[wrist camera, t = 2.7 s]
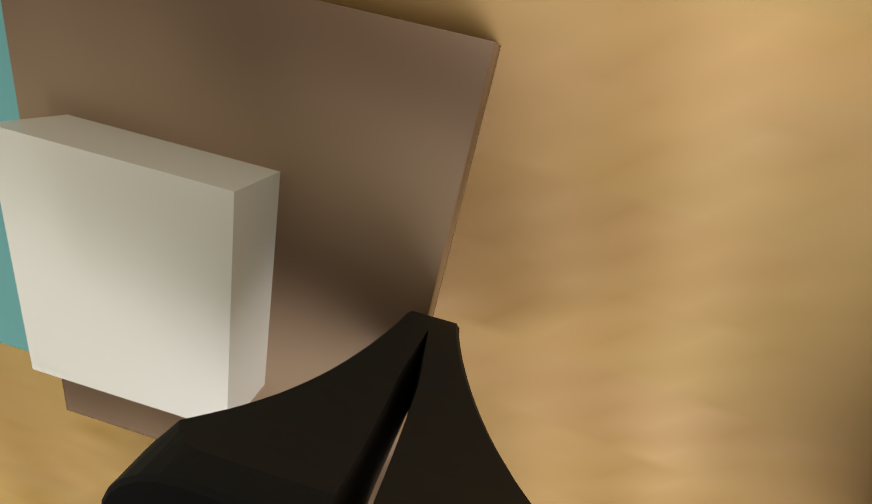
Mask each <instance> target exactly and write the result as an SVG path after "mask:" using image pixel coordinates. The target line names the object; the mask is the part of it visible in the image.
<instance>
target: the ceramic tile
mask: <svg viewBox="0 0 872 504" xmlns="http://www.w3.org/2000/svg"><path fill="white" fill-rule="evenodd" d="M279 184H280V171H276V170H273V169H269V168H265V167H262V166H258V165H254V164H250V163H247V162H243V161H239V160H235V159H232V158H228V157H224V156H220V155H217V154H213V153H209V152H206V151H202V150H198V149H194V148H191V147H187V146H183V145H179V144H176V143H172V142H168V141H165V140H161V139H157V138H153V137H150V136H146V135H142V134H138V133H135V132H131V131H127V130H124V129H120V128H116V127H112V126H109V125H105V124H101V123H97V122H94V121H90V120H86V119H82V118H79V117H75V116H71V115H68V114H67V115H58V116H48V117H39V118H29V119H20V120H10V121H1V122H0V203H1V208H2V214H3V219H4V224H5V229H6V234H7V239H8V245H9V250H10V255H11V260H12V265H13V270H14V275H15V281H16V286H17V291H18V296H19V301H20V306H21V312H22V317H23V322H24V327H25V332H26V337H27V342H28V348H29V353H30V358H31V363H32V368H33V369H34V370H37V371H40V372H43V373H46V374H50V375H53V376H56V377H59V378H62V379H65V380H68V381H72V382H75V383H78V384H81V385H84V386H87V387H90V388H93V389H97V390H100V391H103V392H106V393H109V394H112V395H115V396H118V397H122V398H125V399H128V400H131V401H134V402H137V403H140V404H144V405H147V406H150V407H153V408H156V409H159V410H162V411H165V412H169V413H172V414H175V415H178V416H181V417H184V418H191V417H195V416H200V415H204V414H208V413H213V412H217V411H221V410H226V409H230V408H233V407H237V406H241V405H244V404H247V403H250V402H251V401H252V399H253V398H254V397H255V396H256V394H257V393H258V392H259V391H260V390H261V388H262V387H263V386H264V385H265V373H266V359H267V346H268V332H269V319H270V305H271V292H272V278H273V265H274V251H275V238H276V224H277V211H278V197H279Z"/></svg>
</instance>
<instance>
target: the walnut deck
mask: <svg viewBox="0 0 872 504" xmlns="http://www.w3.org/2000/svg"><path fill="white" fill-rule="evenodd" d="M1 6H2V12H3V18H4V25H5V31H6V37H7V43H8V49H9V55H10V62H11V68H12V74H13V80H14V86H15V92H16V99H17V105H18V111H19V117H20V119H29V118H39V117H48V116H58V115H67V114H68V115H71V116H75V117H79V118H82V119H86V120H90V121H94V122H97V123H101V124H105V125H109V126H112V127H116V128H120V129H124V130H127V131H131V132H135V133H138V134H142V135H146V136H150V137H153V138H157V139H161V140H165V141H168V142H172V143H176V144H179V145H183V146H187V147H191V148H194V149H198V150H202V151H206V152H209V153H213V154H217V155H220V156H224V157H228V158H232V159H235V160H239V161H243V162H247V163H250V164H254V165H258V166H262V167H265V168H269V169H273V170H276V171H280V184H279V197H278V211H277V224H276V238H275V251H274V265H273V278H272V292H271V305H270V319H269V332H268V346H267V359H266V373H265V385H264V386H263V387H262V388H261V390H260V391H259V392H258V393H257V394H256V396H255V397H254V398H253V399H252V401H251V402H254V401H257V400H261V399H264V398H266V397H269V396H272V395H275V394H278V393H281V392H283V391H286V390H288V389H291V388H293V387H295V386H298V385H300V384H302V383H304V382H307V381H309V380H311V379H313V378H315V377H317V376H319V375H321V374H323V373H325V372H327V371H329V370H331V369H332V368H334V367H336V366H338V365H339V364H341V363H343V362H344V361H346V360H348V359H349V358H351V357H352V356H354V355H355V354H357V353H358V352H360V351H361V350H363V349H364V348H366V347H367V346H369V345H370V344H371V343H373V342H374V341H375V340H376V339H378V338H379V337H380V336H382V335H383V334H384V333H386V332H387V331H388V330H389V329H390V328H391V327H393V326H394V325H395V324H396V323H397V322H398V321H399V320H400V319H401V318H403V317H404V316H405V314H406V313H408V312H410V311H414V312H418V313H421V314H425V315H428V316H432V317H433V314H434V310H435V306H436V302H437V298H438V294H439V290H440V286H441V282H442V278H443V274H444V270H445V266H446V262H447V258H448V254H449V250H450V246H451V242H452V238H453V234H454V230H455V226H456V222H457V218H458V214H459V210H460V206H461V202H462V198H463V194H464V190H465V186H466V183H467V179H468V175H469V171H470V167H471V163H472V159H473V155H474V151H475V147H476V143H477V139H478V135H479V131H480V127H481V123H482V119H483V115H484V111H485V107H486V103H487V99H488V95H489V91H490V87H491V83H492V79H493V75H494V71H495V67H496V63H497V59H498V55H499V51H500V47H501V46H500V45H498V44H497V43H496V42H495V41H490V40H486V39H482V38H478V37H473V36H469V35H465V34H461V33H456V32H452V31H448V30H444V29H439V28H435V27H431V26H427V25H422V24H418V23H414V22H410V21H405V20H401V19H397V18H393V17H388V16H384V15H380V14H375V13H371V12H367V11H363V10H358V9H354V8H350V7H346V6H341V5H337V4H333V3H329V2H324V1H320V0H1ZM62 382H63V388H64V395H65V401H66V407H67V410H69V411H72V412H75V413H78V414H81V415H85V416H88V417H91V418H94V419H97V420H100V421H103V422H106V423H109V424H112V425H115V426H118V427H121V428H125V429H128V430H131V431H134V432H137V433H140V434H143V435H146V436H149V437H152V438H155V439H158V438H159V437H160V436H161V435H162V434H164V433H165V432H166V431H167V430H168V429H170V428H171V427H172V426H173V425H174V424H175V423H177V422H178V421H179V420H181V419H186V418H184V417H181V416H178V415H175V414H172V413H169V412H165V411H162V410H159V409H156V408H153V407H150V406H147V405H144V404H140V403H137V402H134V401H131V400H128V399H125V398H122V397H118V396H115V395H112V394H109V393H106V392H103V391H100V390H97V389H93V388H90V387H87V386H84V385H81V384H78V383H75V382H72V381H68V380H65V379H62ZM251 402H250V403H251ZM407 413H408V412H407ZM406 418H407V414H406V416H405V419H404V421H403V423H402V426H401V428H400V430H399V432H398V435H397V437H396V439H395V441H394V444H393V446H392V448H391V450H390V453H389V455H388V457H387V459H386V462H385V464H384V466H383V468H382V471H381V473H380V475H379V477H378V480H377V482H376V484H375V487H374V489H373V492H372V494H371V497H370V499H369V502H368V504H373V502H374V500H375V497H376V495H377V492H378V490H379V488H380V485H381V483H382V480H383V478H384V475H385V473H386V470H387V468H388V465H389V463H390V460H391V458H392V455H393V452H394V450H395V447H396V445H397V442H398V439H399V437H400V434H401V431H402V429H403V426H404V423H405V420H406Z"/></svg>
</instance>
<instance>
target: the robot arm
mask: <svg viewBox="0 0 872 504" xmlns="http://www.w3.org/2000/svg"><path fill="white" fill-rule="evenodd" d="M407 412H408V413H407ZM406 414H407V418H406V420H405V423H404V426H403V429H402V431H401V434H400V437H399V439H398V442H397V445H396V447H395V450H394V452H393V455H392V458H391V460H390V463H389V465H388V468H387V470H386V473H385V475H384V478H383V480H382V483H381V485H380V488H379V490H378V492H377V495H376V497H375V500H374V502H373V504H531V503H530V501H529V500H528V499H527V497H526V496H525V494H524V493H523V492H522V490H521V489H520V487H519V486H518V484H517V483H516V482H515V480H514V478H513V477H512V475H511V473H510V472H509V470H508V468H507V467H506V465H505V463H504V462H503V460H502V458H501V457H500V455H499V453H498V452H497V450H496V448H495V446H494V444H493V442H492V440H491V438H490V436H489V434H488V432H487V430H486V428H485V425H484V423H483V421H482V419H481V416H480V414H479V412H478V409H477V406H476V404H475V401H474V398H473V395H472V392H471V389H470V386H469V383H468V380H467V376H466V372H465V368H464V364H463V360H462V355H461V349H460V342H459V327H458V326H457V324H456V323H453V322H449V321H446V320H442V319H439V318H435V317H432V316H428V315H425V314H421V313H418V312H414V311H410V312H408V313H406V314H405V316H404V317H403V318H401V319H400V320H399V321H398V322H397V323H396V324H395V325H394V326H393V327H391V328H390V329H389V330H388V331H387V332H386V333H384V334H383V335H382V336H380V337H379V338H378V339H376V340H375V341H374V342H373V343H371V344H370V345H369V346H367V347H366V348H364V349H363V350H361V351H360V352H358V353H357V354H355V355H354V356H352V357H351V358H349V359H348V360H346V361H344V362H343V363H341V364H339V365H338V366H336V367H334V368H332V369H331V370H329V371H327V372H325V373H323V374H321V375H319V376H317V377H315V378H313V379H311V380H309V381H307V382H304V383H302V384H300V385H298V386H295V387H293V388H291V389H288V390H286V391H283V392H281V393H278V394H275V395H272V396H269V397H266V398H264V399H261V400H257V401H254V402H251V403H247V404H244V405H241V406H237V407H233V408H230V409H226V410H221V411H217V412H213V413H208V414H204V415H200V416H195V417H191V418H186V419H181V420H179V421H178V422H177V423H175V424H174V425H173V426H172V427H171V428H170V429H168V430H167V431H166V432H165V433H164V434H162V435H161V436H160V437H159V438H158V439H157V440H155V441H154V442H153V443H152V444H151V445H150V446H149V447H148V448H147V449H146V450H145V451H144V452H143V453H142V454H141V455H140V456H139V457H138V458H137V459H136V460H135V461H134V462H133V463H132V464H131V465H130V466H129V467H128V468H127V469H126V470H125V471H124V472H123V473H122V474H121V475H120V476H119V477H118V478H117V479H116V480H115V481H114V482H113V483H112V484H111V485H110V486H109V487H108V489H107V491H106V493H105V495H104V497H103V499H102V504H368V502H369V499H370V497H371V494H372V492H373V489H374V487H375V484H376V482H377V480H378V477H379V475H380V473H381V471H382V468H383V466H384V464H385V462H386V459H387V457H388V455H389V453H390V450H391V448H392V446H393V444H394V441H395V439H396V437H397V435H398V432H399V430H400V428H401V426H402V423H403V421H404V419H405V416H406Z"/></svg>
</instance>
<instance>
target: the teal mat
mask: <svg viewBox="0 0 872 504" xmlns="http://www.w3.org/2000/svg"><path fill="white" fill-rule="evenodd" d="M10 120H20V117H19V111H18V105H17V99H16V92H15V86H14V80H13V74H12V68H11V62H10V55H9V49H8V43H7V37H6V31H5V25H4V18H3V12H2V6H1V0H0V122H1V121H10ZM0 342H1V343H4V344H7V345H10V346H13V347H17V348H20V349H23V350H26V351H29V348H28V342H27V337H26V332H25V327H24V322H23V317H22V312H21V306H20V301H19V296H18V291H17V286H16V281H15V275H14V270H13V265H12V260H11V255H10V250H9V245H8V239H7V234H6V229H5V224H4V219H3V214H2V208H1V203H0Z"/></svg>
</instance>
